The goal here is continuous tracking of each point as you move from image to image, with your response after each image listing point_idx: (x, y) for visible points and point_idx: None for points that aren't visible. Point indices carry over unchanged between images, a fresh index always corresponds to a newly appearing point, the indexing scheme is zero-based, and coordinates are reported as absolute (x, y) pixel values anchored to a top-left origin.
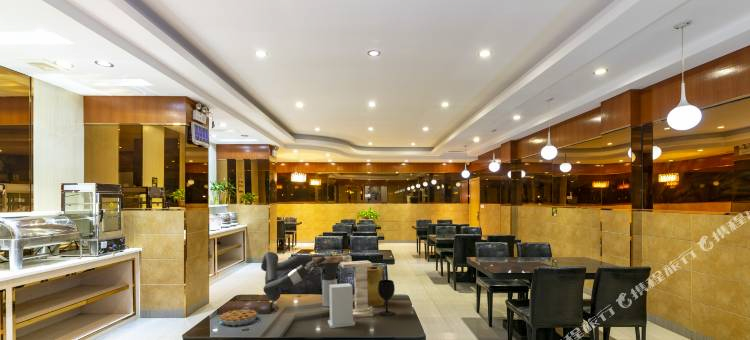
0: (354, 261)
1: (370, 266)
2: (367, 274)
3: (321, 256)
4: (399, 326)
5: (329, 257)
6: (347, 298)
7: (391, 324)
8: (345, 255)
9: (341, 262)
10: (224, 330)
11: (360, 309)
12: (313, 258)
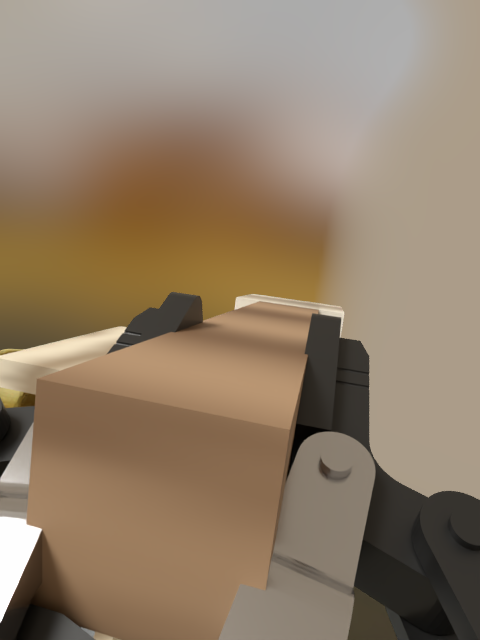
0: (77, 339)
1: (1, 352)
2: (33, 397)
3: (190, 309)
4: (389, 619)
5: (302, 325)
6: None
7: (350, 628)
8: (246, 295)
9: (11, 357)
10: None
11: None
12: (261, 416)
